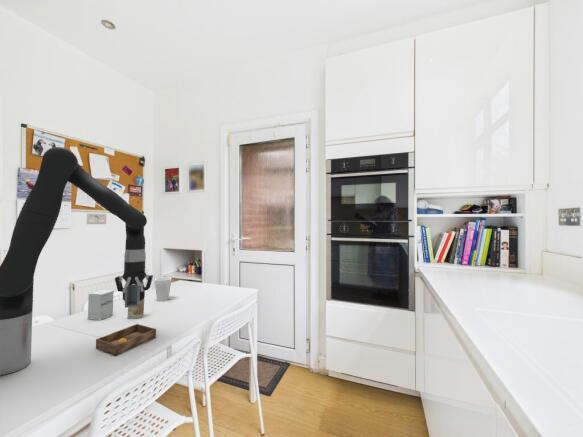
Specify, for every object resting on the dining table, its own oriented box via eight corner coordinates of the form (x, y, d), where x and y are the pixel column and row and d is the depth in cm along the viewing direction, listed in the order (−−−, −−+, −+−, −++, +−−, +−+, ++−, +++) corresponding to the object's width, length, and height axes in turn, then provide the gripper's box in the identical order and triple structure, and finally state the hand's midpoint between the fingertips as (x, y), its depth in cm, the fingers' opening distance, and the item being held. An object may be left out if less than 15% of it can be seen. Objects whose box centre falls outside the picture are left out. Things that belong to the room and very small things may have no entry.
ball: (129, 344, 96) (123, 349, 93) (121, 344, 96) (115, 348, 93) (129, 336, 96) (123, 341, 93) (121, 336, 96) (115, 340, 93)
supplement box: (99, 320, 120) (100, 294, 120) (87, 319, 122) (87, 293, 122) (113, 315, 127) (114, 290, 128) (101, 314, 129) (102, 289, 129)
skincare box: (127, 319, 123) (127, 294, 123) (130, 315, 127) (130, 291, 127) (141, 317, 124) (142, 293, 125) (144, 314, 129) (144, 291, 129)
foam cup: (154, 298, 156) (155, 277, 156) (171, 296, 160) (171, 276, 160) (153, 302, 147) (154, 280, 147) (170, 301, 151) (171, 279, 151)
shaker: (128, 303, 106) (129, 284, 106) (142, 302, 107) (142, 284, 107) (124, 307, 101) (125, 287, 101) (138, 306, 102) (139, 287, 102)
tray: (115, 356, 89) (115, 346, 89) (95, 348, 94) (96, 339, 94) (155, 337, 104) (156, 329, 104) (137, 331, 109) (137, 323, 109)
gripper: (111, 261, 99) (110, 304, 98) (151, 260, 103) (150, 302, 102) (118, 259, 106) (117, 299, 106) (156, 258, 110) (155, 296, 110)
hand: (133, 300), depth 104 cm, fingers closed on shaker, 5 cm apart
